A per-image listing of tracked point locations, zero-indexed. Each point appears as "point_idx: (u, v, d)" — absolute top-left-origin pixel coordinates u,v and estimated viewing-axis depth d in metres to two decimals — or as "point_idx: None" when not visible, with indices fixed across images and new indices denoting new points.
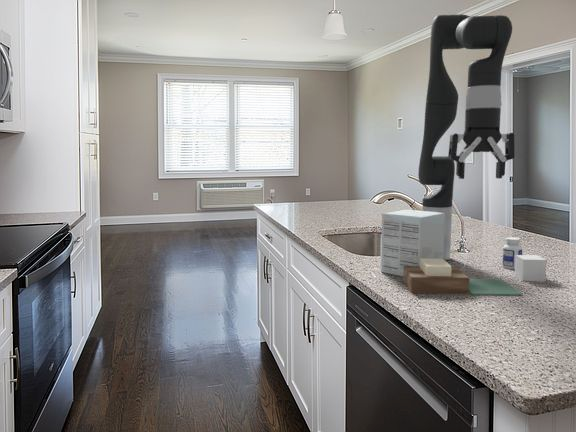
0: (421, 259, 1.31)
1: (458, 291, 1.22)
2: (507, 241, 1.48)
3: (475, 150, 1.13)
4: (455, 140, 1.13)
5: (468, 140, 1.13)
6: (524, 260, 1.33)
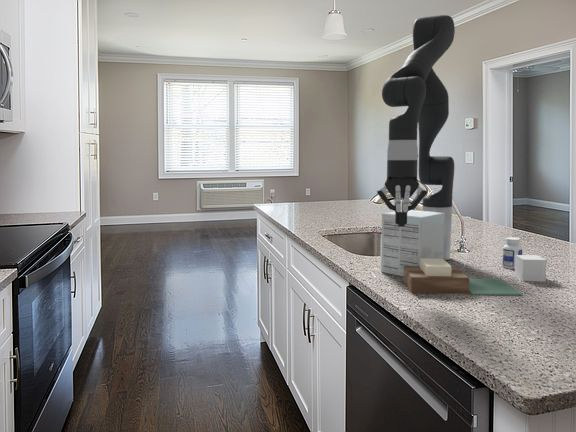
0: (421, 259, 1.31)
1: (458, 291, 1.22)
2: (507, 241, 1.48)
3: (395, 197, 1.25)
4: (382, 195, 1.25)
5: (389, 188, 1.25)
6: (524, 260, 1.33)
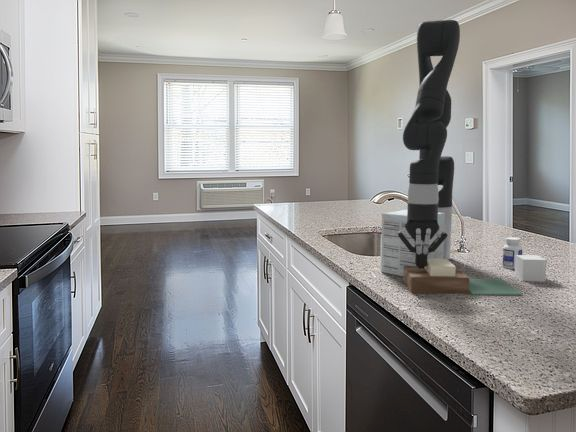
0: None
1: (458, 291, 1.22)
2: (507, 241, 1.48)
3: (416, 239, 1.27)
4: (403, 237, 1.27)
5: (409, 230, 1.26)
6: (524, 260, 1.33)
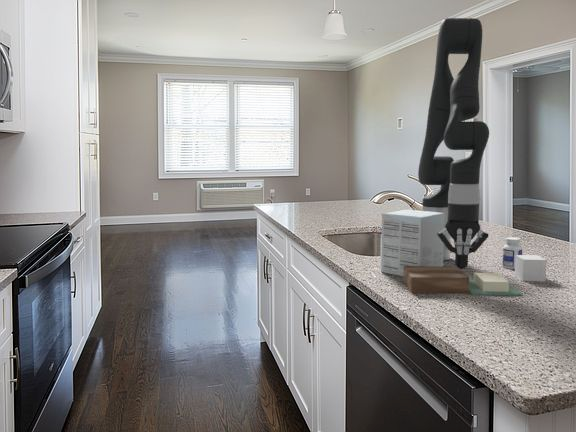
0: None
1: (458, 291, 1.22)
2: (507, 241, 1.48)
3: (456, 239, 1.26)
4: (443, 238, 1.26)
5: (450, 231, 1.26)
6: (524, 260, 1.33)
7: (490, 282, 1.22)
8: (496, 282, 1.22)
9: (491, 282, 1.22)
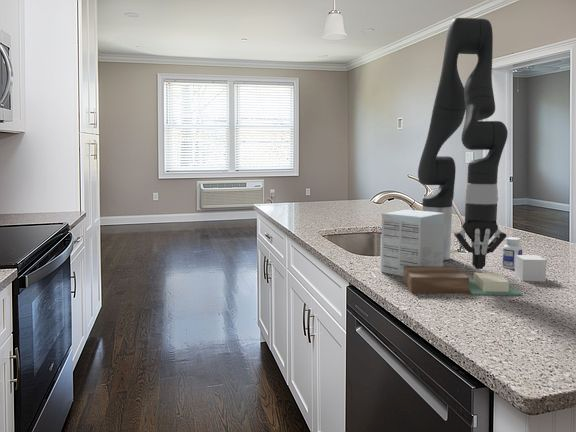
0: None
1: (458, 291, 1.22)
2: (507, 241, 1.48)
3: (474, 240, 1.25)
4: (461, 238, 1.25)
5: (468, 231, 1.25)
6: (524, 260, 1.33)
7: (490, 282, 1.22)
8: (496, 282, 1.22)
9: (491, 282, 1.22)
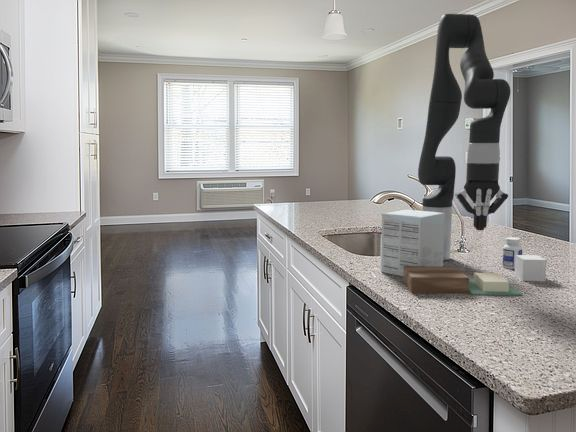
0: None
1: (458, 291, 1.22)
2: (507, 241, 1.48)
3: (475, 200, 1.24)
4: (462, 199, 1.24)
5: (469, 191, 1.24)
6: (524, 260, 1.33)
7: (490, 282, 1.22)
8: (496, 282, 1.22)
9: (491, 282, 1.22)
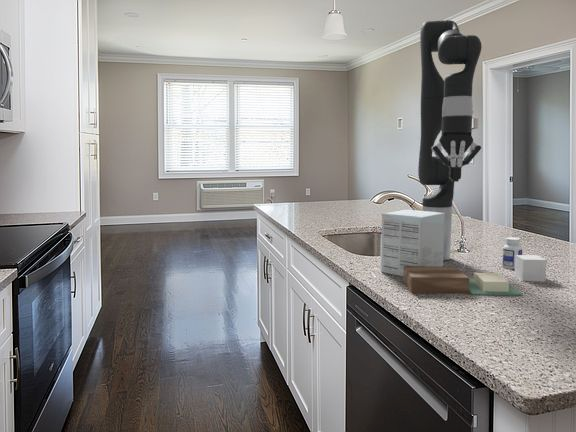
0: None
1: (458, 291, 1.22)
2: (507, 241, 1.48)
3: (450, 152, 1.30)
4: (437, 151, 1.30)
5: (444, 143, 1.30)
6: (524, 260, 1.33)
7: (490, 282, 1.22)
8: (496, 282, 1.22)
9: (491, 282, 1.22)
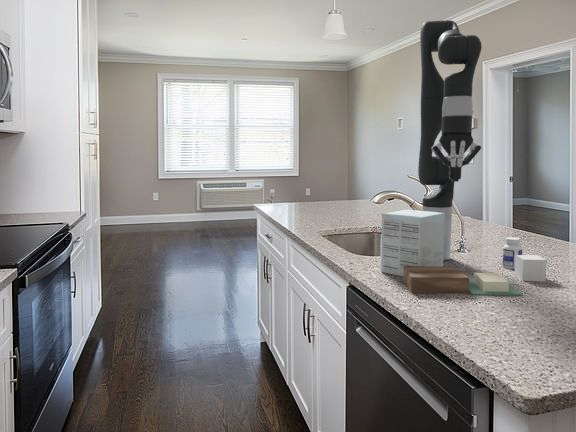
0: None
1: (458, 291, 1.22)
2: (507, 241, 1.48)
3: (450, 152, 1.30)
4: (437, 151, 1.30)
5: (444, 143, 1.30)
6: (524, 260, 1.33)
7: (490, 282, 1.22)
8: (496, 282, 1.22)
9: (491, 282, 1.22)
